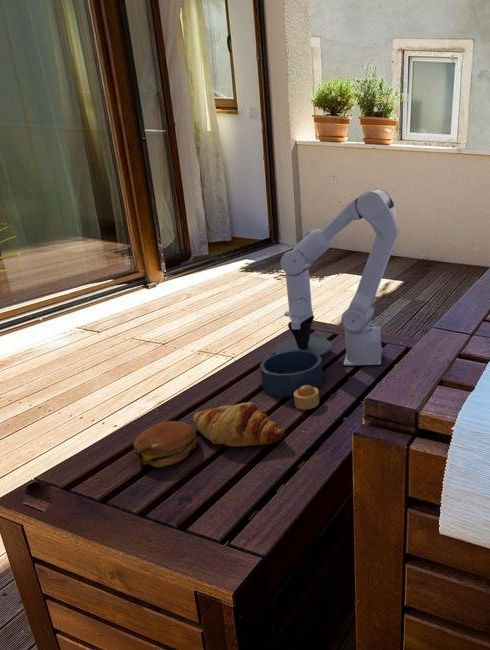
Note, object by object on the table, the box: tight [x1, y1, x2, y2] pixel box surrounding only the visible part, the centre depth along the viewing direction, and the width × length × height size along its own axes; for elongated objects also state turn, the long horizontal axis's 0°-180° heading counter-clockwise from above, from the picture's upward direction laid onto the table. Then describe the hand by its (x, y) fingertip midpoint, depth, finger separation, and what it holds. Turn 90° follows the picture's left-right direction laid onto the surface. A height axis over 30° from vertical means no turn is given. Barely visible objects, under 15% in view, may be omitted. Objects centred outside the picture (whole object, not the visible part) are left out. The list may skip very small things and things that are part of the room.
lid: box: [274, 336, 333, 357], centre depth 124 cm, size 15×15×5 cm
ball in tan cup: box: [293, 385, 320, 411], centre depth 102 cm, size 5×5×4 cm
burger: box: [132, 420, 199, 468], centre depth 85 cm, size 10×9×5 cm
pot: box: [259, 350, 324, 398], centre depth 111 cm, size 14×14×5 cm
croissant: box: [192, 401, 286, 448], centre depth 90 cm, size 21×10×8 cm, turn 72°
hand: (303, 345), depth 125 cm, fingers closed on lid, 2 cm apart
